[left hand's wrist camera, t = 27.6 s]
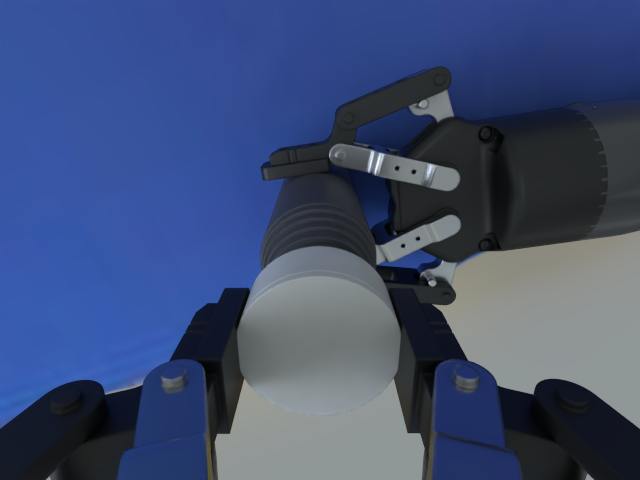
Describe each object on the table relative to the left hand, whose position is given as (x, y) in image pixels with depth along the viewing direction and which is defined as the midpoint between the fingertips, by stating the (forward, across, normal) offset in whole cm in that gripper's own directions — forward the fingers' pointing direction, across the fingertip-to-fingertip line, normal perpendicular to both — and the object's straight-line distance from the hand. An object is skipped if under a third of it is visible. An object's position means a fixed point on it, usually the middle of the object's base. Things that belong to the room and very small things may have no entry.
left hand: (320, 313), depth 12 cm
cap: (-2, 0, 0) cm, 2 cm away
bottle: (+17, 0, 0) cm, 17 cm away
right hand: (+11, -3, 0) cm, 11 cm away
